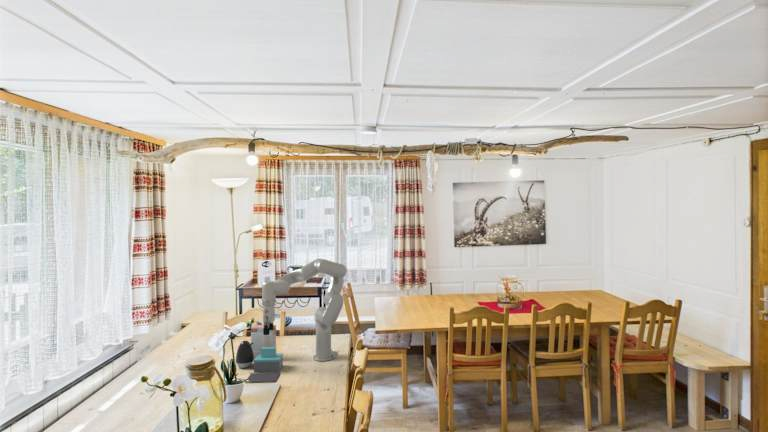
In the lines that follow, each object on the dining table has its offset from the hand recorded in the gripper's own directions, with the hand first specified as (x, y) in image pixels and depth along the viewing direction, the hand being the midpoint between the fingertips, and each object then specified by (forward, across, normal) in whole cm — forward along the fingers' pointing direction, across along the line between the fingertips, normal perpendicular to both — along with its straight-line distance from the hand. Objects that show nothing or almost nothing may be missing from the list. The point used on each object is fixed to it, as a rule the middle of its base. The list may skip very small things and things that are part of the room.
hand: (268, 332), depth 220 cm
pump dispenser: (+22, +5, +14) cm, 26 cm away
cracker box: (+21, +16, +6) cm, 28 cm away
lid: (+15, 0, 0) cm, 15 cm away
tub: (+21, 0, 0) cm, 21 cm away
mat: (+21, -13, 0) cm, 25 cm away
